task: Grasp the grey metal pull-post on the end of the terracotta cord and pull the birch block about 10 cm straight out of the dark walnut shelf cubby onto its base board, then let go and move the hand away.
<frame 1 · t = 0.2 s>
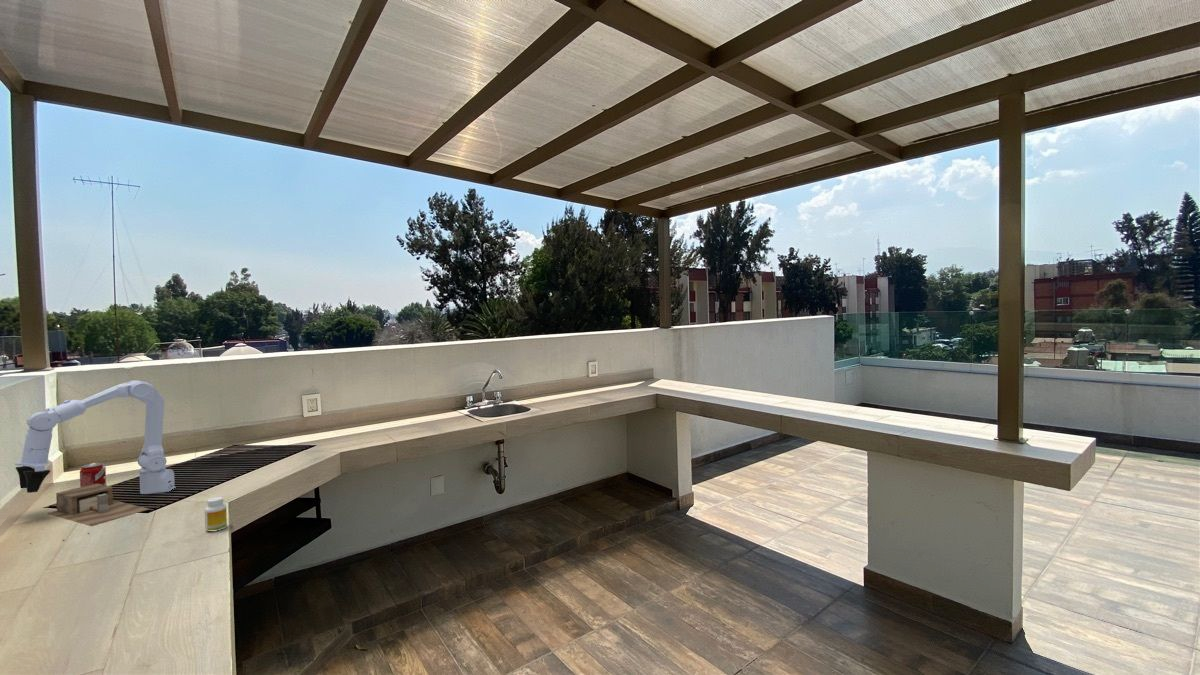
hand: (28, 490, 158), 10 cm above the table, tool pointing down, fingers open, 7 cm apart
soda can: (93, 496, 182), on the table
walnut shelf: (87, 510, 167), on the table
birch block: (87, 508, 167), point 1 cm above the table, touching walnut shelf
supplement bottle: (216, 529, 153), on the table
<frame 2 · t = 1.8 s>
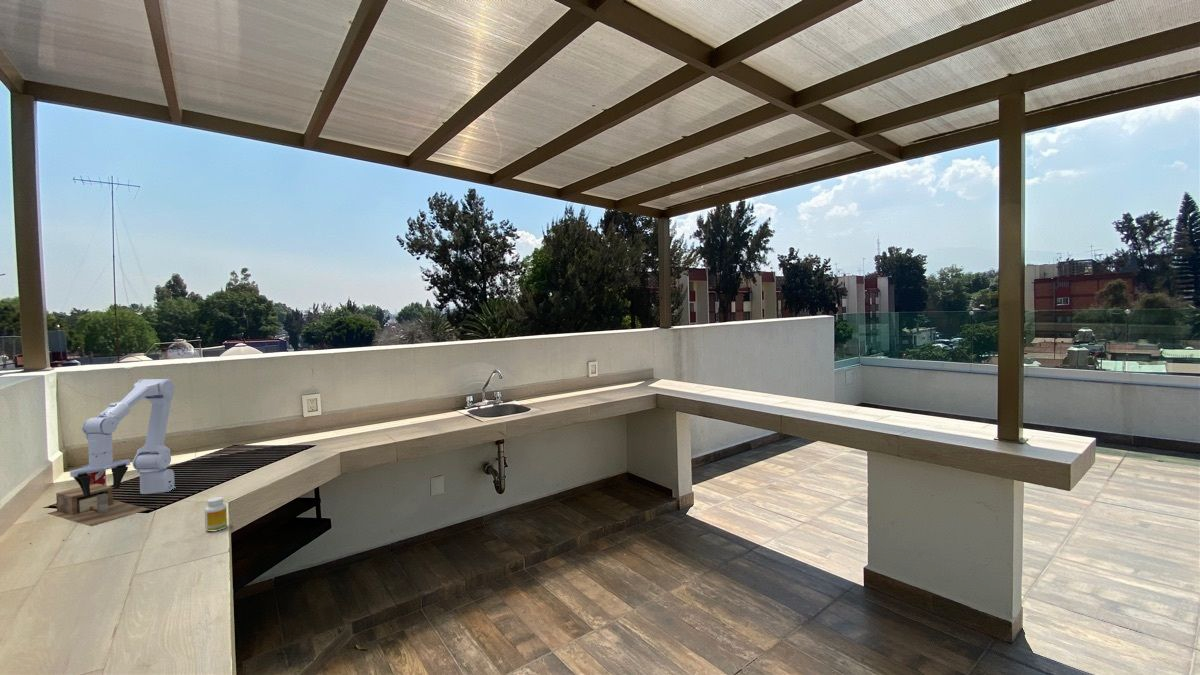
hand: (102, 491, 163), 8 cm above the table, tool pointing down, fingers open, 7 cm apart
nothing on the table moved.
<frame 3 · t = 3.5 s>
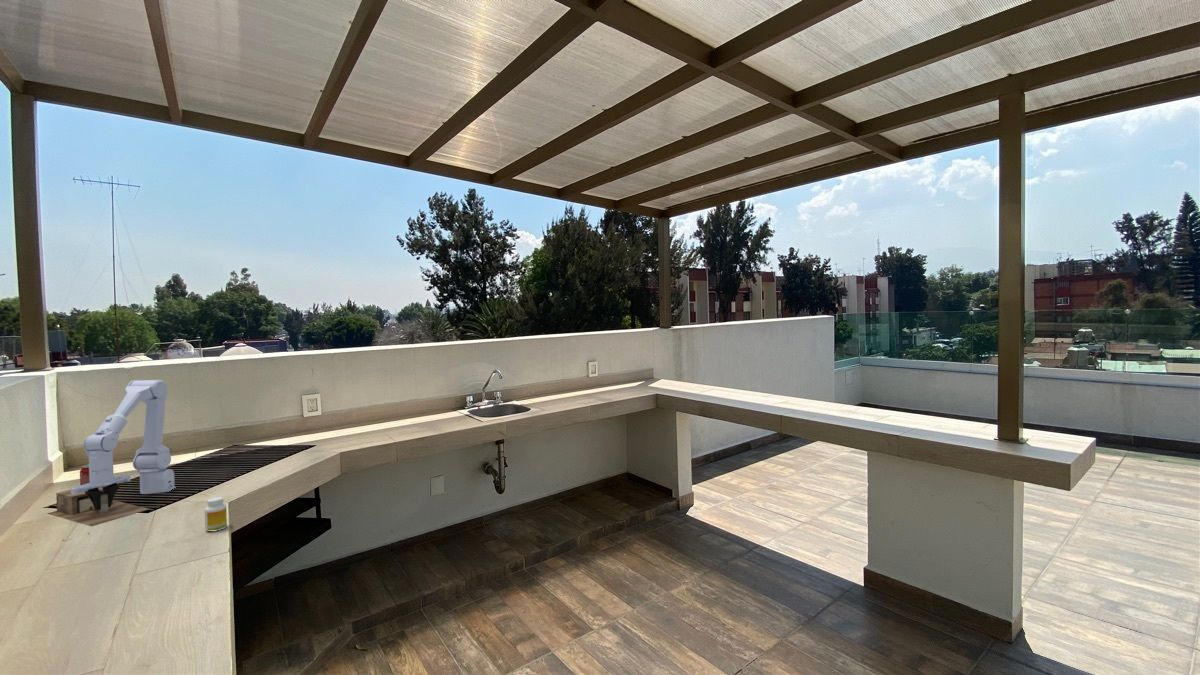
hand: (102, 508, 164), 2 cm above the table, tool pointing down, fingers closed on birch block
birch block: (87, 508, 167), point 1 cm above the table, touching gripper, walnut shelf
everything else where it was.
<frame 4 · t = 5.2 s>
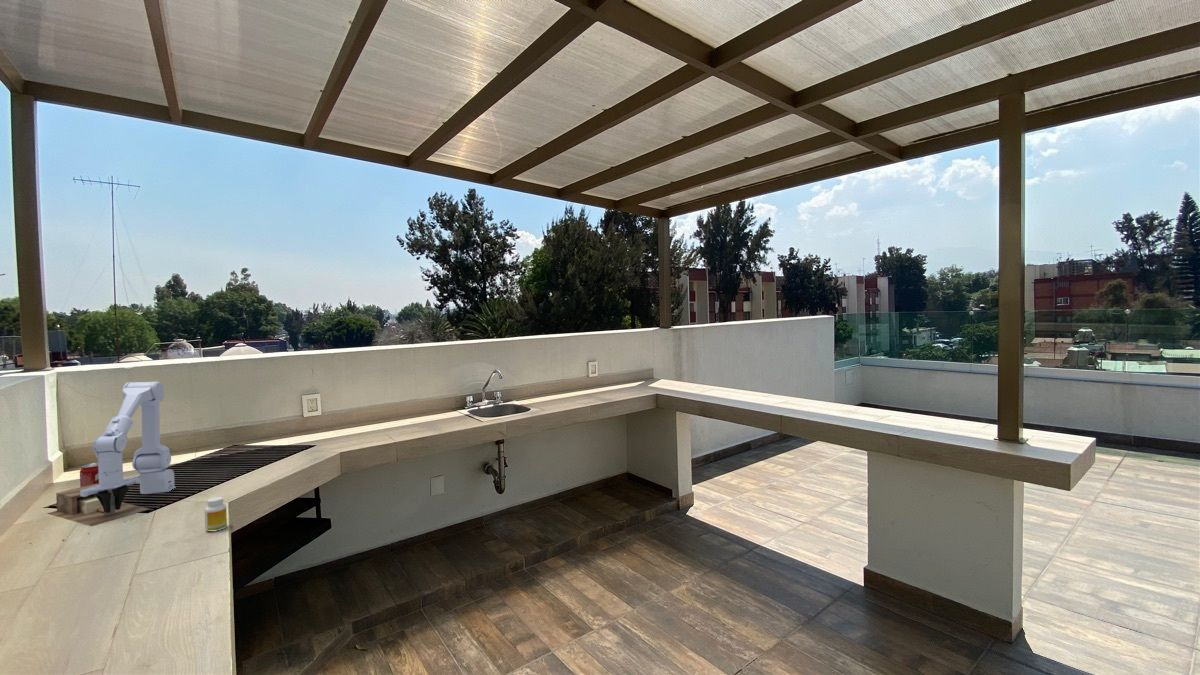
hand: (112, 510, 161), 2 cm above the table, tool pointing down, fingers closed on birch block
birch block: (93, 509, 166), point 1 cm above the table, touching gripper, walnut shelf
everything else where it was.
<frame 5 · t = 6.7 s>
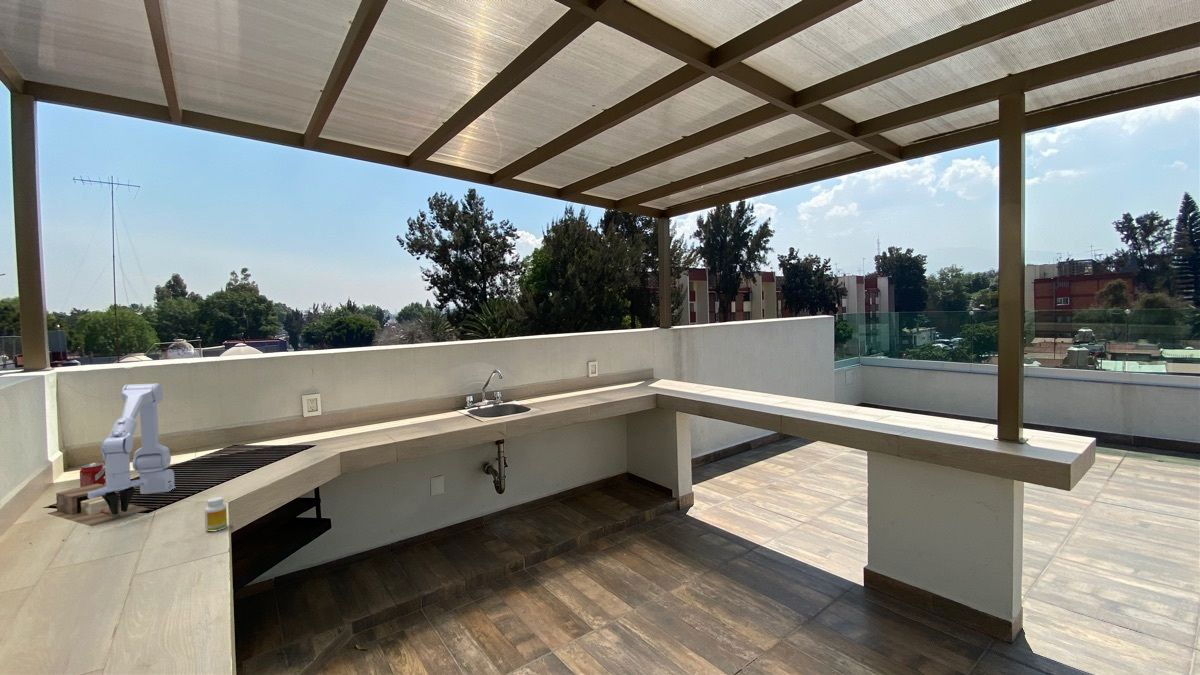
hand: (119, 512, 160), 2 cm above the table, tool pointing down, fingers closed on birch block
birch block: (97, 511, 165), point 1 cm above the table, touching gripper, walnut shelf
everything else where it was.
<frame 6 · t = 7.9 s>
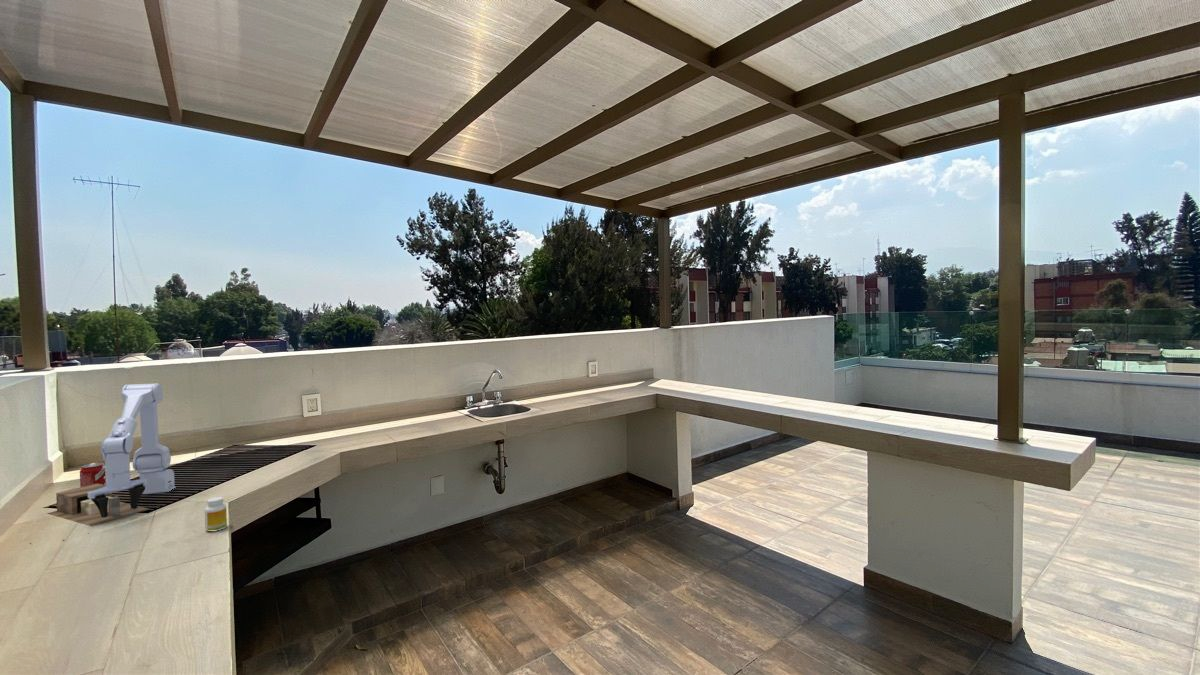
hand: (119, 512, 160), 2 cm above the table, tool pointing down, fingers open, 7 cm apart
birch block: (97, 511, 165), point 1 cm above the table, touching walnut shelf
everything else where it was.
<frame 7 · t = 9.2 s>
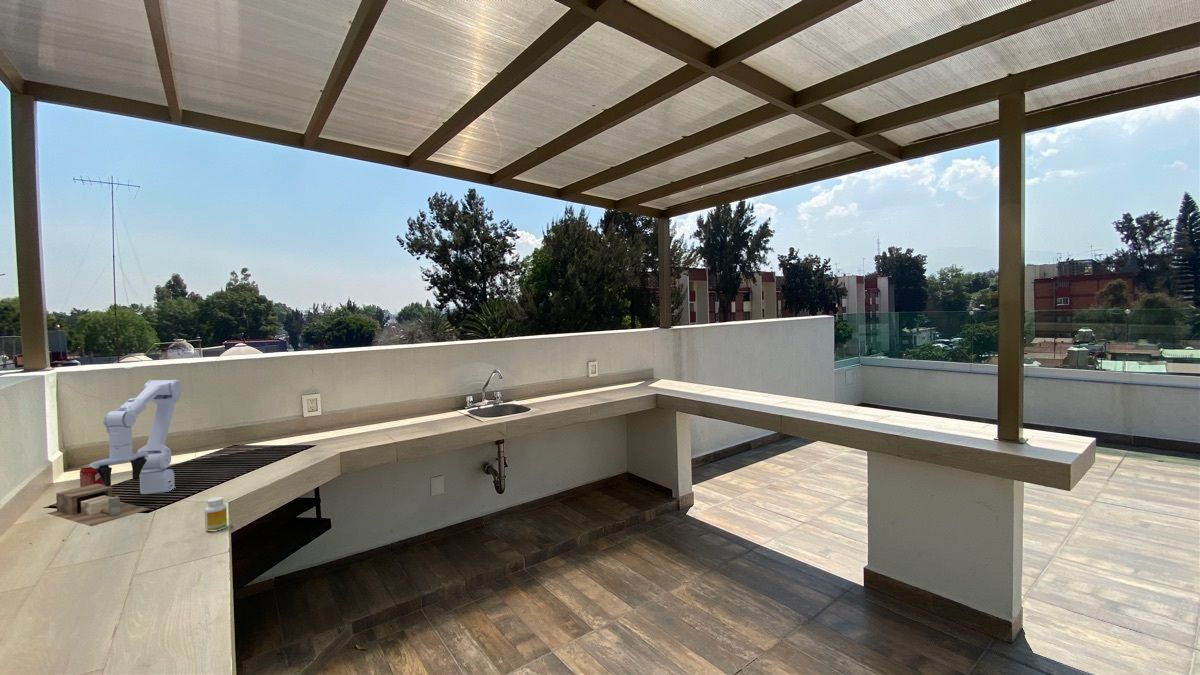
hand: (122, 482, 169), 9 cm above the table, tool pointing down, fingers open, 7 cm apart
nothing on the table moved.
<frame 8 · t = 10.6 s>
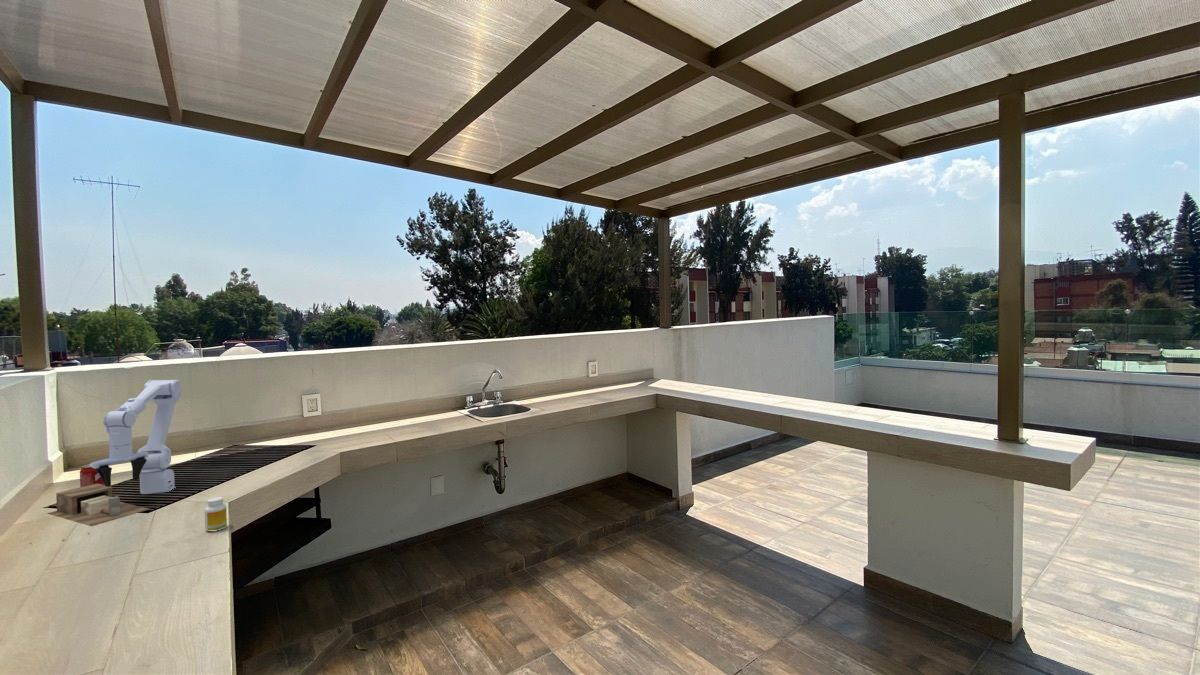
hand: (122, 482, 169), 9 cm above the table, tool pointing down, fingers open, 7 cm apart
nothing on the table moved.
at the end: birch block 3.0 cm from the target spot, point 1.0 cm above the table; birch block tilted 0°; the gripper is holding nothing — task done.
